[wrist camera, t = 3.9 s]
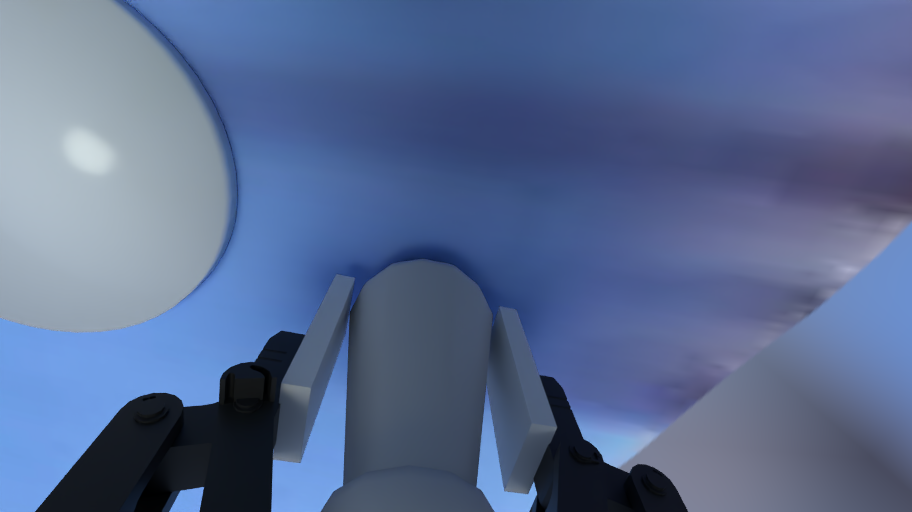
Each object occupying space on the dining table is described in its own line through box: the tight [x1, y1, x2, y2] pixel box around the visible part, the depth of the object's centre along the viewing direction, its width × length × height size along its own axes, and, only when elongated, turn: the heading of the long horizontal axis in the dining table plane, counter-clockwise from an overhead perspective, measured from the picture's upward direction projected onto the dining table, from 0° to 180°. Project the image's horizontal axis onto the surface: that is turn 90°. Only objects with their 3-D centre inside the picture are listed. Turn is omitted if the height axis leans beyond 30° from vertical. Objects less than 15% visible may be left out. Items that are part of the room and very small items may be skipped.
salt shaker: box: [321, 259, 494, 512], centre depth 14 cm, size 6×6×13 cm
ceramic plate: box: [0, 0, 238, 332], centre depth 16 cm, size 14×14×1 cm
